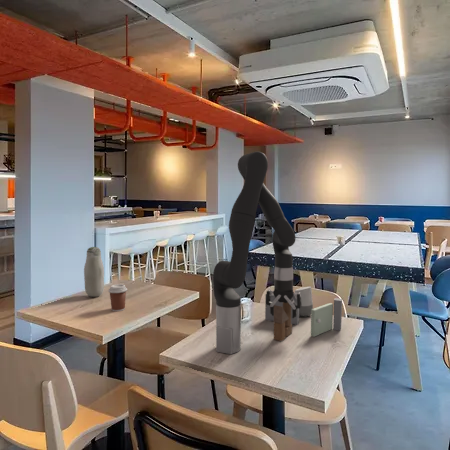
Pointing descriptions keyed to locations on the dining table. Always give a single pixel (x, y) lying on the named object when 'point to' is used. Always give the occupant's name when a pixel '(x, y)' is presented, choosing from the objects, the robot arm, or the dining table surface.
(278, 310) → the wooden block
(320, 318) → the door
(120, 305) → the coffee cup
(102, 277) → the beige bottle
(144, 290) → the dining table surface
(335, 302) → the wall frame
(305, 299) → the smart speaker
